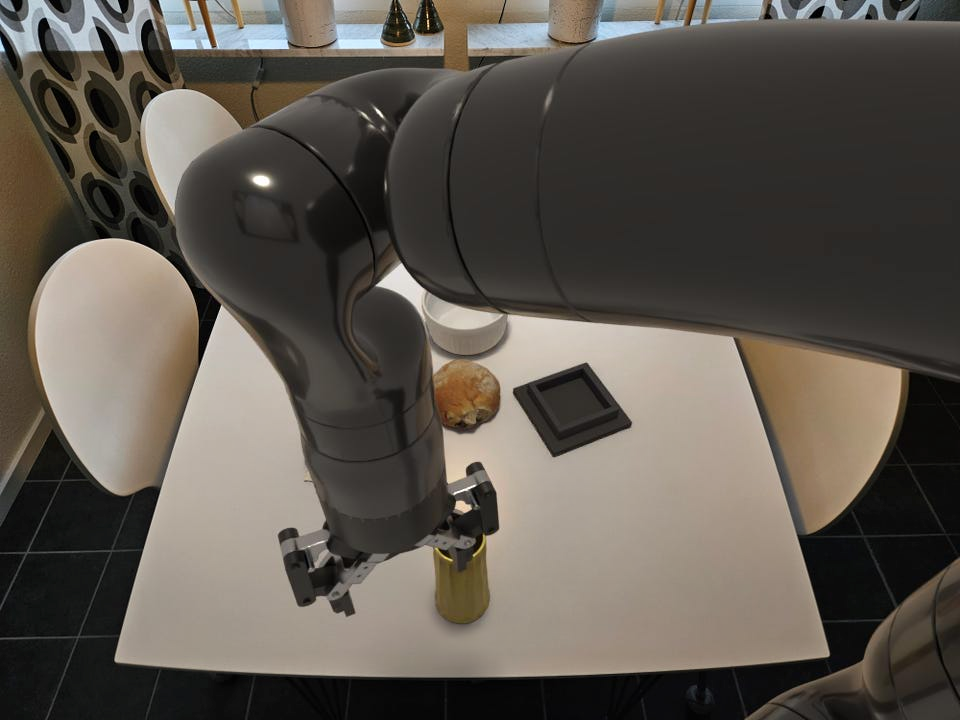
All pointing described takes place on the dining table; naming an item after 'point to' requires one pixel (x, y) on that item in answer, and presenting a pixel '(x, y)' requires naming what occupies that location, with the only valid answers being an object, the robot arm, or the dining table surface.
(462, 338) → the ramekin
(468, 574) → the vase
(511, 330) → the dining table surface
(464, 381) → the bread roll
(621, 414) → the base pad
